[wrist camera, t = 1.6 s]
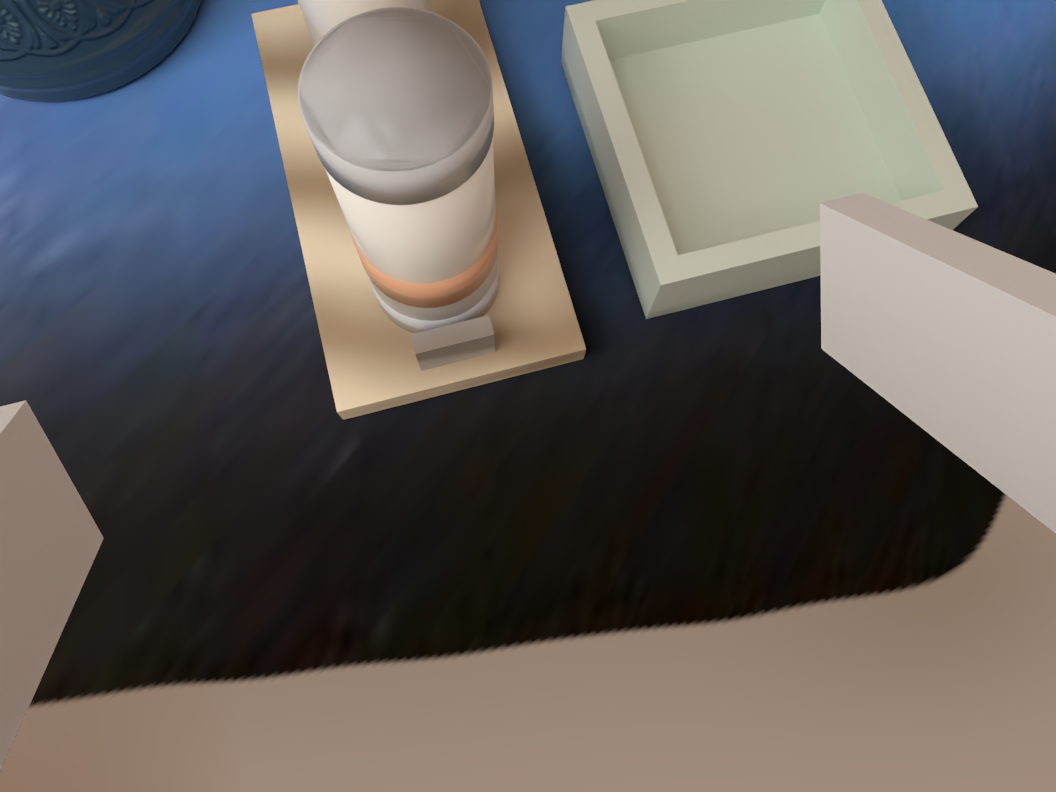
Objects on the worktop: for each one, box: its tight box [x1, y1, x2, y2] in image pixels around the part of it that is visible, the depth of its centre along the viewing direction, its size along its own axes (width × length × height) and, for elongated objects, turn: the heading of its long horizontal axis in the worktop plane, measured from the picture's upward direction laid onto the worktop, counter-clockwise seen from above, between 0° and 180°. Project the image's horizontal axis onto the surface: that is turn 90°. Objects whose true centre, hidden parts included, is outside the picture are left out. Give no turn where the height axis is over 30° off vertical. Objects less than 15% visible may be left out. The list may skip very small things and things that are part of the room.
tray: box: [561, 0, 978, 319], centre depth 34 cm, size 13×13×4 cm
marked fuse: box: [298, 7, 500, 333], centre depth 27 cm, size 5×5×12 cm
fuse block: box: [251, 0, 586, 420], centre depth 34 cm, size 19×10×3 cm, turn 15°
